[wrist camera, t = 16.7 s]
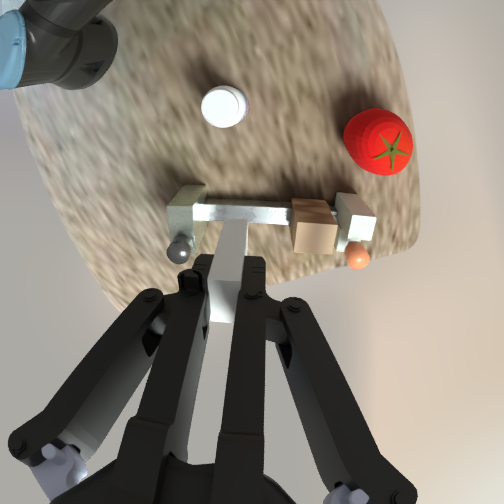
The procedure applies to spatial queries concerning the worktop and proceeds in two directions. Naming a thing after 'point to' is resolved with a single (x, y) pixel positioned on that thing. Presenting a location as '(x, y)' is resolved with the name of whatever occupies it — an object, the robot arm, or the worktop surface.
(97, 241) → the worktop surface
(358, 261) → the cylinder
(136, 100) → the worktop surface
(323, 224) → the block
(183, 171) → the worktop surface
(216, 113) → the pill bottle
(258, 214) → the rail
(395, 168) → the tomato
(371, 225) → the pale stepped block
